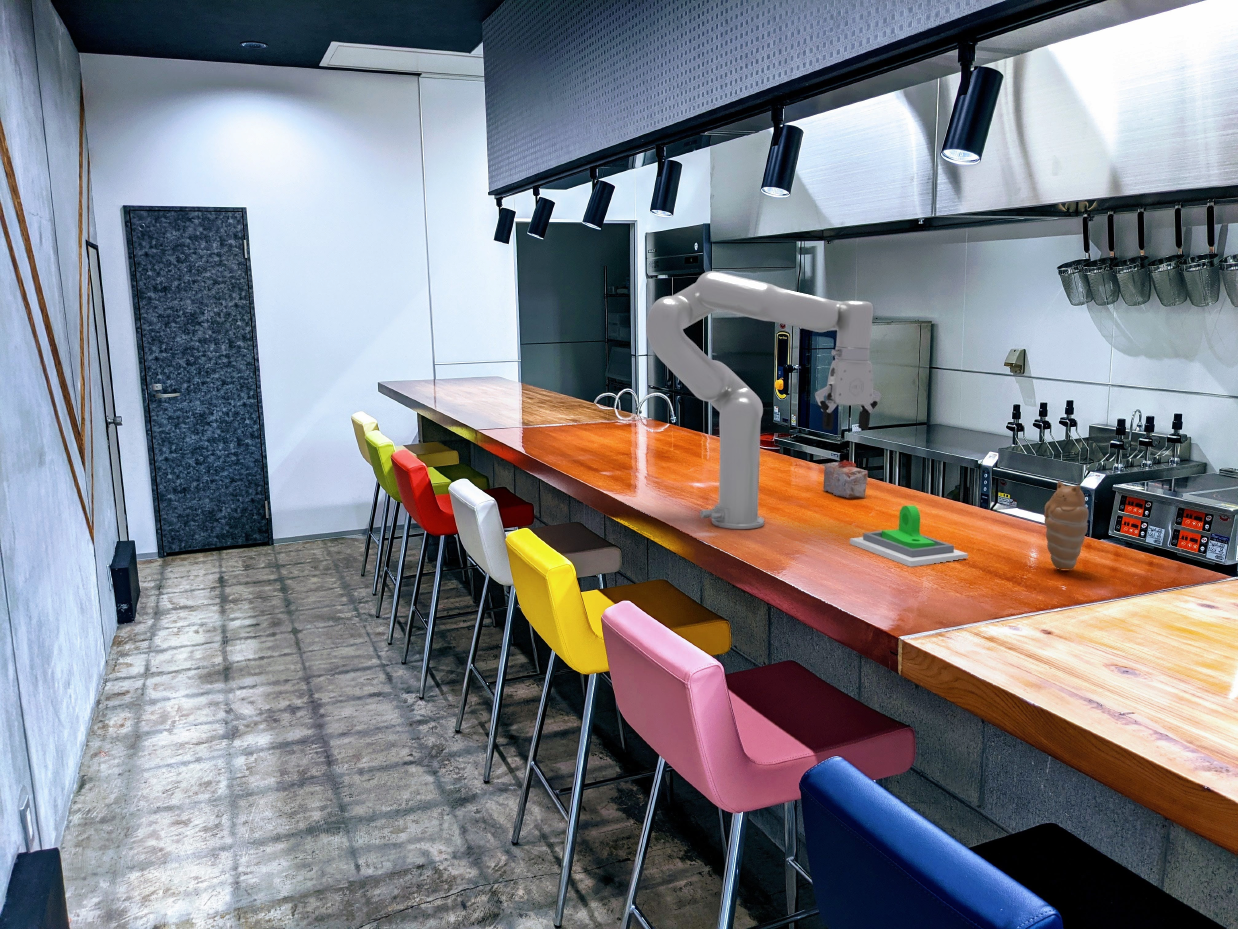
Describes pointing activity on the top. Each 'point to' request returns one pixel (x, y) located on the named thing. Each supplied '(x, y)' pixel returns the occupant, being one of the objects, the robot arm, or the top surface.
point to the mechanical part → (908, 530)
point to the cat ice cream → (1066, 525)
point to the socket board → (908, 550)
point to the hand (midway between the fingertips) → (845, 429)
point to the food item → (845, 479)
